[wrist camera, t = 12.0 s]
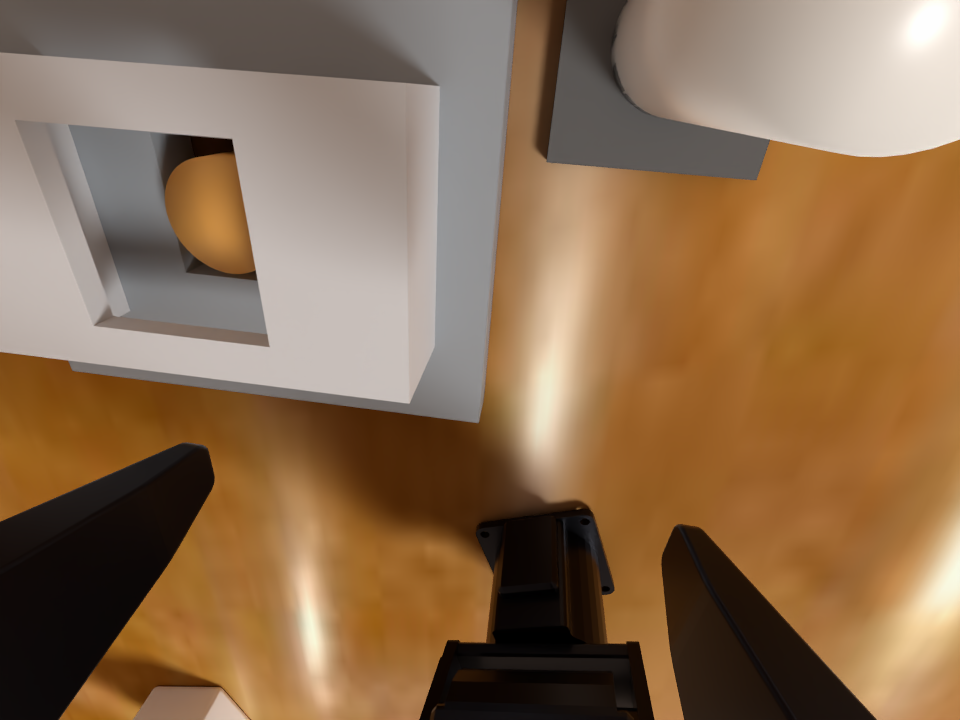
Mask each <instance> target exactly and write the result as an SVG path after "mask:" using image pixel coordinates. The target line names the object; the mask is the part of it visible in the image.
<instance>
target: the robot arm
mask: <svg viewBox="0 0 960 720" xmlns="http://www.w3.org/2000/svg"><path fill="white" fill-rule="evenodd" d="M214 479H215V477H214V472H213V467H212V463H211V459H210V455H209V451H208V449H207V448H206V447H205V446H203V445H199V444H193V443H181V444H178V445H176V446H174V447H171V448H169V449H167V450H165V451H162V452H160V453H158V454H155V455H153V456H151V457H148V458H146V459H144V460H142V461H139V462H137V463H135V464H132V465H130V466H128V467H125V468H123V469H121V470H119V471H116V472H114V473H112V474H109V475H107V476H105V477H102V478H100V479H98V480H95V481H93V482H91V483H89V484H86V485H84V486H82V487H79V488H77V489H75V490H72V491H70V492H68V493H65V494H63V495H61V496H59V497H56V498H54V499H52V500H49V501H47V502H45V503H42V504H40V505H38V506H36V507H33V508H31V509H29V510H26V511H24V512H22V513H19V514H17V515H15V516H12V517H10V518H8V519H6V520H3V521H1V522H0V720H59V719H60V717H61V716H62V714H63V713H64V711H65V710H66V709H67V707H68V706H69V704H70V703H71V702H72V700H73V699H74V697H75V696H76V694H77V693H78V692H79V690H80V689H81V687H82V686H83V685H84V683H85V682H86V680H87V679H88V677H89V676H90V675H91V673H92V672H93V670H94V669H95V668H96V666H97V665H98V663H99V662H100V660H101V659H102V658H103V656H104V655H105V653H106V652H107V651H108V649H109V648H110V646H111V645H112V643H113V642H114V641H115V639H116V638H117V636H118V635H119V634H120V632H121V631H122V629H123V628H124V627H125V625H126V624H127V622H128V621H129V619H130V618H131V617H132V615H133V614H134V612H135V611H136V610H137V608H138V607H139V605H140V604H141V602H142V601H143V600H144V598H145V597H146V595H147V594H148V593H149V591H150V590H151V588H152V587H153V585H154V584H155V583H156V581H157V580H158V578H159V577H160V576H161V574H162V573H163V571H164V570H165V568H166V567H167V565H168V564H169V562H170V561H171V559H172V558H173V556H174V554H175V553H176V551H177V549H178V548H179V546H180V544H181V542H182V541H183V539H184V537H185V536H186V534H187V532H188V530H189V529H190V527H191V525H192V523H193V522H194V520H195V518H196V516H197V515H198V513H199V511H200V509H201V508H202V506H203V504H204V502H205V501H206V499H207V497H208V495H209V494H210V492H211V490H212V488H213V485H214ZM584 518H585V519H584ZM484 531H485V532H484ZM476 536H477V538H478V540H479V543H480V545H481V547H482V549H483V551H484V554H485V556H486V558H487V560H488V562H489V564H490V567H491V569H492V571H493V573H494V576H493V585H492V594H491V603H490V612H489V621H488V630H487V639H486V643H469V642H460V641H459V640H448V641H447V643H446V646H445V649H444V652H443V655H442V657H441V658H440V660H439V663H438V666H437V669H436V672H435V675H434V678H433V681H432V684H431V687H430V690H429V693H428V696H427V699H426V702H425V705H424V708H423V711H422V713H421V716H420V719H419V720H654V716H653V711H652V705H651V700H650V695H649V690H648V685H647V680H646V675H645V670H644V665H643V660H642V655H641V650H640V645H639V642H632V641H626V644H608V643H607V634H606V625H605V616H604V608H603V599H602V595H607V594H611V593H613V591H614V582H613V579H612V575H611V572H610V568H609V565H608V561H607V558H606V555H605V551H604V548H603V544H602V541H601V537H600V534H599V531H598V527H597V524H596V520H595V517H594V514H593V512H591V511H590V510H587V509H580V510H573V511H566V512H558V513H551V514H543V515H536V516H528V517H521V518H513V519H506V520H498V521H491V522H484V523H480V524H479V525H478V526H477V529H476ZM662 576H663V585H664V595H665V605H666V615H667V625H668V635H669V644H670V652H671V657H672V663H673V668H674V673H675V677H676V682H677V687H678V692H679V697H680V701H681V706H682V711H683V716H684V720H877V719H876V718H875V717H874V716H873V715H872V714H871V713H870V712H869V711H868V710H867V708H866V707H865V706H864V705H863V704H862V703H861V702H860V701H859V700H858V699H857V698H856V696H855V695H854V694H853V693H852V692H851V691H850V690H849V689H848V688H847V687H846V686H845V684H844V683H843V682H842V681H841V680H840V679H839V678H838V677H837V676H836V675H835V674H834V672H833V671H832V670H831V669H830V668H829V667H828V666H827V665H826V664H825V663H824V662H823V660H822V659H821V658H820V657H819V656H818V655H817V654H816V653H815V652H814V651H813V650H812V648H811V647H810V646H809V645H808V644H807V643H806V642H805V641H804V640H803V639H802V638H801V636H800V635H799V634H798V633H797V632H796V631H795V630H794V629H793V628H792V627H791V626H790V624H789V623H788V622H787V621H786V620H785V619H784V618H783V617H782V616H781V615H780V614H779V612H778V611H777V610H776V609H775V608H774V607H773V606H772V605H771V604H770V603H769V602H768V600H767V599H766V598H765V597H764V596H763V595H762V594H761V593H760V592H759V591H758V590H757V588H756V587H755V586H754V585H753V584H752V583H751V582H750V581H749V580H748V579H747V578H746V576H745V575H744V574H743V573H742V572H741V571H740V570H739V569H738V568H737V567H736V566H735V564H734V563H733V562H732V561H731V560H730V559H729V558H728V557H727V556H726V555H725V554H724V552H723V551H722V550H721V549H720V548H719V547H718V546H717V545H716V544H715V543H714V542H713V540H712V539H711V538H710V537H709V536H708V535H707V534H706V533H705V532H704V531H703V530H702V529H701V528H699V527H695V526H689V525H683V524H678V525H676V526H675V527H674V529H673V531H672V533H671V535H670V538H669V540H668V542H667V545H666V547H665V549H664V552H663V555H662Z"/></svg>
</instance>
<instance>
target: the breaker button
mask: <svg viewBox="0 0 960 720" xmlns="http://www.w3.org/2000/svg"><path fill="white" fill-rule="evenodd" d="M165 207H166V212H167V216H168V219H169V222H170V224H171V226H172V228H173V230H174V232H175V234H176V236H177V237H178V239H179V240H180V241H181V243H182V244H183V245H184V246H185V248H186V249H187V250H188V251H189V252H190V253H191V254H192V255H193V256H195V257H196V258H197V259H198V260H200V261H201V262H203V263H204V264H206V265H208V266H209V267H211V268H213V269H216V270H218V271H221V272H225V273H230V274H245V273H249V272H253V271H255V270H256V268H255V263H254V257H253V252H252V246H251V240H250V235H249V229H248V224H247V218H246V213H245V207H244V202H243V196H242V190H241V185H240V179H239V174H238V168H237V163H236V157H235V152H234V151H230V152H224V153H219V154H213V155H207V156H202V157H196V158H192V159H189V160H186V161H184V162H182V163H181V164H180V165H178V166H177V167H176V168H175V169H174V170H173V172H172V173H171V175H170V177H169V179H168V181H167V184H166V189H165Z"/></svg>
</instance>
